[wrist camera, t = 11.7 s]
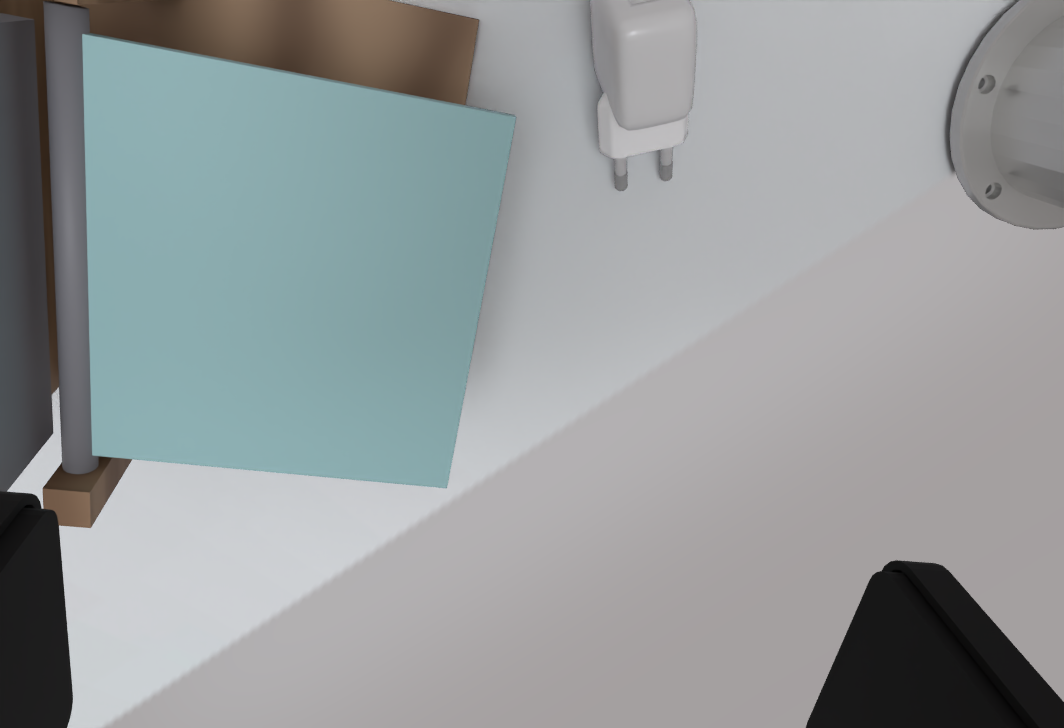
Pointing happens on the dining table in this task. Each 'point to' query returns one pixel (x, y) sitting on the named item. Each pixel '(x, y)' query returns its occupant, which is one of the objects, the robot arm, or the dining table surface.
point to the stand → (265, 40)
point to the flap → (237, 261)
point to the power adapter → (643, 78)
